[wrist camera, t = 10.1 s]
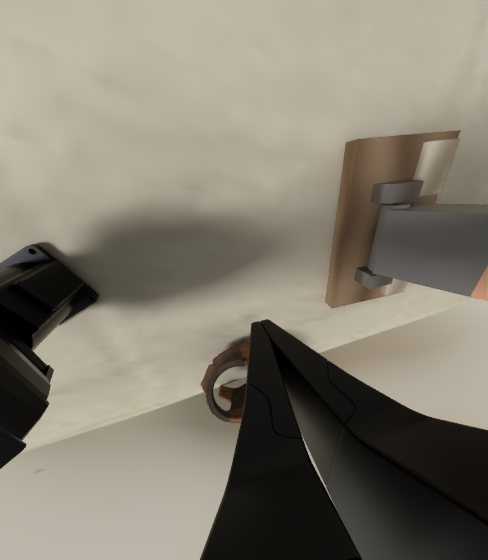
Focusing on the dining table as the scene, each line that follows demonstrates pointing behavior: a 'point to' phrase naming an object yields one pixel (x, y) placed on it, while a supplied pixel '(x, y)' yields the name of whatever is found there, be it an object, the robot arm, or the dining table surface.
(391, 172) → the brown rectangular slab
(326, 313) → the dining table surface
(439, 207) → the grey block
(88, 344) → the dining table surface
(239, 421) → the brown curved piece
